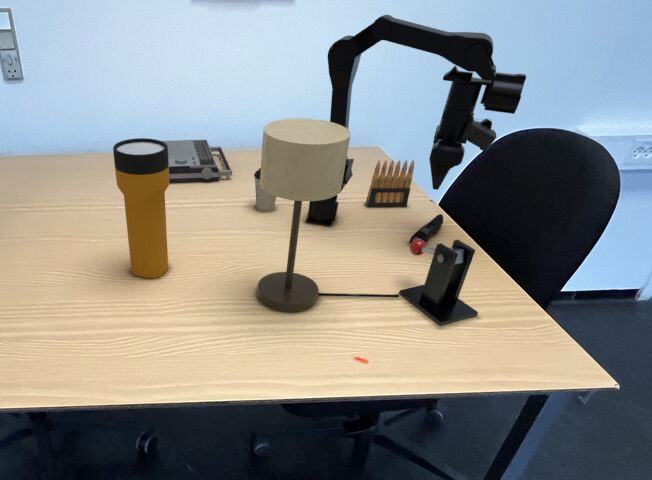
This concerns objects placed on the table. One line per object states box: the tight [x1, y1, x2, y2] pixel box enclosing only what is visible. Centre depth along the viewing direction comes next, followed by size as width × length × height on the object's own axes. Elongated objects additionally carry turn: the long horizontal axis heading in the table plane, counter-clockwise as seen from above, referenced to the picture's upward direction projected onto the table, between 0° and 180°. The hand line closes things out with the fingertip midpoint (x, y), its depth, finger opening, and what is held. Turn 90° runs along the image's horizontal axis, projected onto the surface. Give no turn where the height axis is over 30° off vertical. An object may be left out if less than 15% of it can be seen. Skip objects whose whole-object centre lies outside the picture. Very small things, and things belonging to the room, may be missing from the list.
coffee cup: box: [253, 167, 277, 213], centre depth 134 cm, size 7×7×10 cm
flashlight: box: [112, 137, 170, 279], centre depth 103 cm, size 10×26×10 cm
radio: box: [161, 139, 233, 184], centre depth 158 cm, size 24×5×20 cm
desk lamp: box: [256, 117, 400, 314], centre depth 94 cm, size 29×14×32 cm, turn 89°
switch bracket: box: [398, 239, 479, 327], centre depth 98 cm, size 12×9×13 cm
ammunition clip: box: [365, 159, 415, 208], centre depth 136 cm, size 11×2×12 cm, turn 93°
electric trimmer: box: [409, 213, 444, 245], centre depth 125 cm, size 4×16×3 cm, turn 142°
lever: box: [408, 239, 464, 264], centre depth 99 cm, size 12×3×3 cm, turn 23°
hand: (436, 182), depth 116 cm, fingers open, 9 cm apart
